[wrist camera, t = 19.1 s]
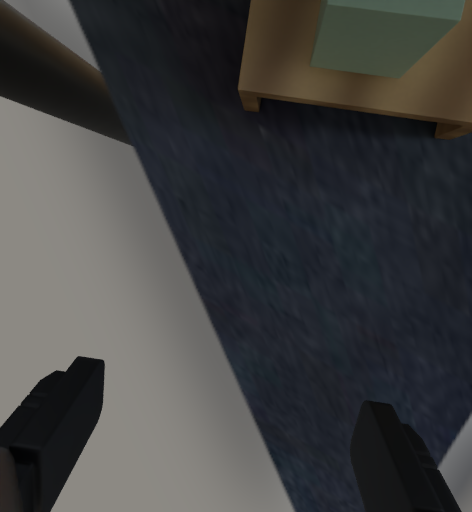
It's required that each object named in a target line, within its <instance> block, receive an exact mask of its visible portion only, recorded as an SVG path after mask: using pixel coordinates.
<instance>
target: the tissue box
mask: <svg viewBox="0 0 472 512" xmlns="http://www.w3.org/2000/svg"><path fill="white" fill-rule="evenodd" d="M464 3H465V0H321V4H320V10H319V15H318V21H317V27H316V32H315V38H314V44H313V49H312V55H311V61H310V67H317V68H325V69H332V70H340V71H347V72H354V73H362V74H369V75H377V76H384V77H391V78H401V77H402V76H403V75H404V74H405V73H406V72H407V71H408V70H409V69H410V68H411V67H412V66H413V65H414V64H415V63H416V62H417V61H418V60H419V59H421V58H422V57H423V56H424V55H425V54H426V53H427V52H428V51H429V50H430V49H431V48H432V47H433V46H434V45H435V44H436V43H437V42H438V41H439V40H441V39H442V38H443V37H444V36H445V35H446V34H447V33H448V32H449V31H450V30H451V29H452V28H453V27H454V26H455V25H456V24H457V23H458V22H459V21H460V20H461V16H462V12H463V8H464Z"/></svg>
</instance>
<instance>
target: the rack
mask: <svg viewBox="0 0 472 512" xmlns="http://www.w3.org/2000/svg"><path fill="white" fill-rule="evenodd" d="M320 4H321V0H251V4H250V10H249V17H248V24H247V30H246V37H245V44H244V50H243V57H242V64H241V70H240V77H239V84H238V91H239V95H240V98H241V101H242V104H243V107H244V110H246V111H253V112H259V110H260V104H261V97H262V98H269V99H276V100H283V101H290V102H297V103H304V104H311V105H319V106H326V107H333V108H340V109H347V110H354V111H361V112H368V113H375V114H382V115H389V116H396V117H403V118H410V119H417V120H424V121H431V122H438V123H437V127H436V132H435V136H434V137H435V138H440V139H447V140H450V139H453V138H456V137H459V136H462V135H465V134H468V133H471V132H472V0H465V3H464V8H463V12H462V16H461V20H460V21H459V22H458V23H457V24H456V25H455V26H454V27H453V28H452V29H451V30H450V31H449V32H448V33H447V34H446V35H445V36H444V37H443V38H442V39H441V40H439V41H438V42H437V43H436V44H435V45H434V46H433V47H432V48H431V49H430V50H429V51H428V52H427V53H426V54H425V55H424V56H423V57H422V58H421V59H419V60H418V61H417V62H416V63H415V64H414V65H413V66H412V67H411V68H410V69H409V70H408V71H407V72H406V73H405V74H404V75H403V76H402V77H401V78H391V77H384V76H377V75H369V74H362V73H354V72H347V71H340V70H332V69H325V68H317V67H310V61H311V55H312V49H313V44H314V38H315V32H316V27H317V21H318V15H319V10H320Z"/></svg>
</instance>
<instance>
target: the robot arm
mask: <svg viewBox="0 0 472 512" xmlns="http://www.w3.org/2000/svg"><path fill="white" fill-rule="evenodd" d="M104 369H105V364H104V361H103V360H101V359H94V358H87V357H81V356H78V357H77V358H76V359H75V360H74V362H73V363H72V364H71V365H70V367H69V368H68V369H67V371H66V372H64V371H57V370H56V371H54V372H53V373H51V374H50V375H48V376H46V377H45V378H43V379H42V380H40V381H39V382H38V384H37V385H36V386H35V387H34V388H33V389H32V391H31V392H30V394H29V395H27V397H26V398H25V399H24V400H23V401H22V403H21V405H20V406H18V407H17V408H16V410H15V411H14V412H13V413H12V414H11V416H10V417H9V418H8V419H7V420H6V422H5V423H4V424H3V425H2V426H1V427H0V512H50V511H51V509H52V507H53V506H54V504H55V502H56V500H57V498H58V496H59V494H60V492H61V490H62V489H63V487H64V485H65V483H66V481H67V479H68V477H69V475H70V473H71V471H72V469H73V468H74V466H75V464H76V462H77V460H78V458H79V456H80V454H81V453H82V451H83V449H84V447H85V445H86V443H87V441H88V439H89V437H90V435H91V434H92V432H93V430H94V428H95V426H96V424H97V422H98V420H99V417H100V414H101V410H102V405H103V390H104ZM350 457H351V463H352V466H353V470H354V473H355V477H356V480H357V484H358V487H359V490H360V494H361V497H362V501H363V504H364V508H365V511H366V512H461V510H460V508H459V506H458V504H457V502H456V501H455V499H454V497H453V495H452V493H451V491H450V489H449V488H448V486H447V484H446V482H445V480H444V478H443V476H442V475H441V473H440V471H439V470H437V465H436V463H435V462H434V460H433V458H432V457H430V452H429V451H428V449H427V447H426V445H425V443H424V441H423V439H422V438H421V437H420V436H419V435H418V434H417V433H416V432H415V431H414V430H413V429H412V428H411V427H410V426H409V425H408V424H402V423H401V422H400V420H399V418H398V416H397V414H396V412H395V410H394V408H393V406H392V405H391V404H386V403H380V402H373V401H367V400H366V401H364V402H363V404H362V406H361V409H360V412H359V416H358V419H357V422H356V426H355V429H354V432H353V436H352V439H351V444H350Z"/></svg>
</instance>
